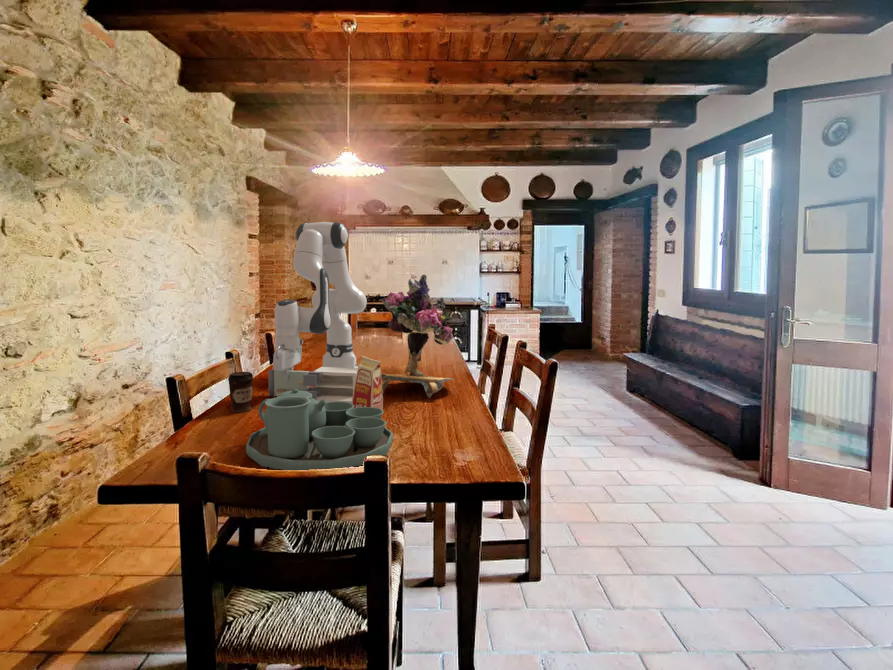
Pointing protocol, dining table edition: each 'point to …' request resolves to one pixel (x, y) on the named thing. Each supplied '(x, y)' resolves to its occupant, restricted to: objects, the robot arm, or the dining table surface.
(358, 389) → the milk carton
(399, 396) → the dining table surface
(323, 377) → the cabinet
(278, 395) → the door rack
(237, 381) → the coffee cup
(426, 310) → the flower vase arrangement
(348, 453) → the tea set
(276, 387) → the door
